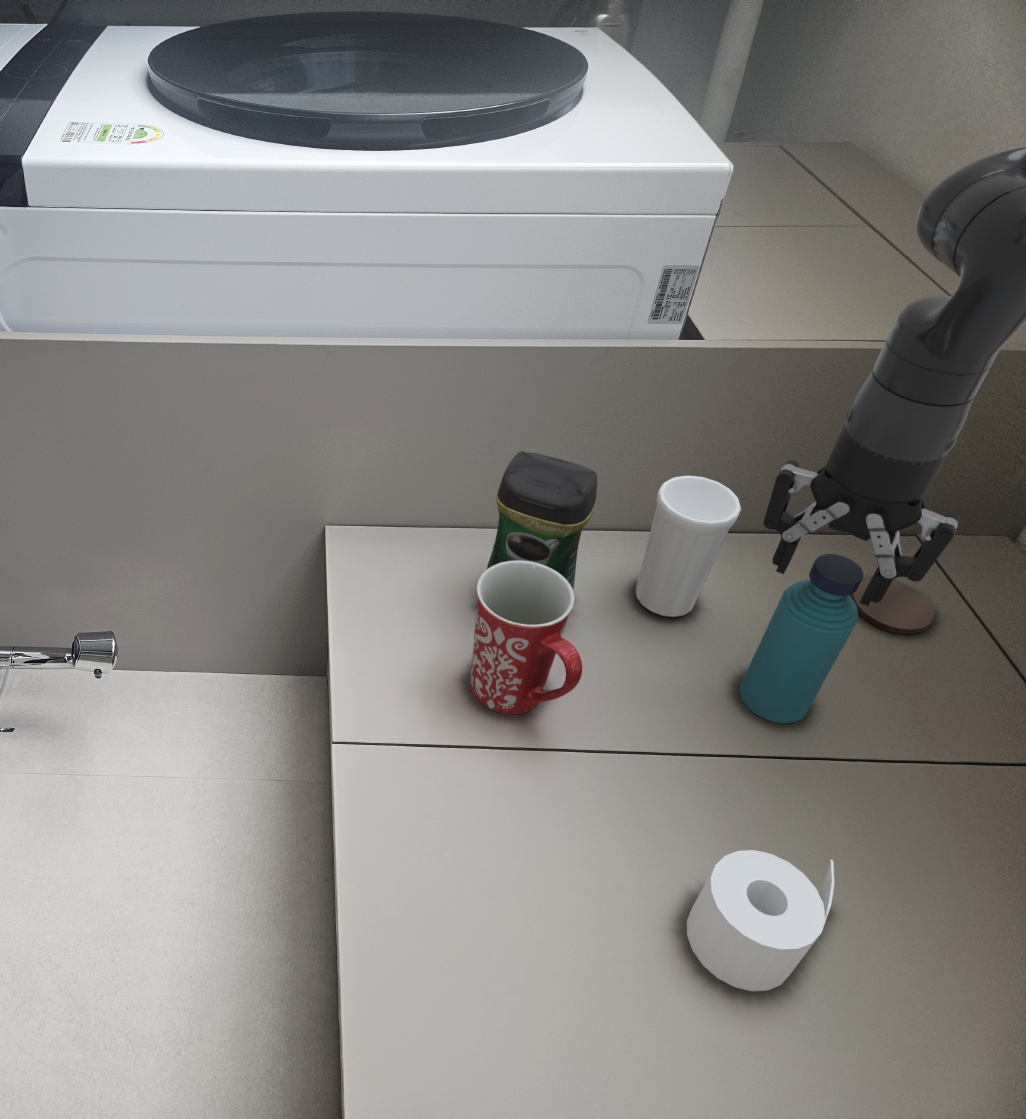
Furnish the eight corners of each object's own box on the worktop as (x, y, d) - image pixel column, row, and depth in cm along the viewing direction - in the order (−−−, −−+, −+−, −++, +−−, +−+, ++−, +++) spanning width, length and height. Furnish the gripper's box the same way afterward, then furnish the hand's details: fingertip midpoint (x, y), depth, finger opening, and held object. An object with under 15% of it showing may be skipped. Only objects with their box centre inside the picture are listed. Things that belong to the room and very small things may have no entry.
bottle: (816, 694, 98) (885, 568, 86) (795, 734, 94) (865, 608, 82) (751, 664, 101) (810, 539, 89) (729, 702, 97) (788, 576, 85)
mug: (442, 671, 100) (457, 576, 91) (515, 643, 103) (536, 548, 94) (515, 761, 92) (538, 667, 83) (591, 728, 95) (622, 633, 86)
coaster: (939, 603, 107) (942, 598, 106) (921, 645, 102) (924, 640, 102) (862, 573, 111) (864, 568, 110) (841, 612, 106) (844, 607, 106)
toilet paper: (824, 912, 80) (856, 868, 76) (768, 1013, 74) (799, 972, 70) (728, 852, 85) (753, 807, 80) (668, 943, 78) (691, 900, 74)
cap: (821, 560, 89) (827, 547, 88) (864, 581, 86) (871, 569, 85) (800, 580, 87) (806, 567, 86) (844, 603, 84) (851, 590, 83)
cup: (699, 633, 104) (740, 532, 94) (621, 613, 106) (654, 513, 97) (704, 585, 110) (743, 484, 100) (631, 567, 112) (662, 467, 102)
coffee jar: (577, 594, 109) (613, 460, 96) (555, 640, 104) (590, 504, 91) (494, 567, 112) (519, 434, 100) (470, 609, 107) (492, 475, 95)
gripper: (1009, 438, 76) (918, 592, 87) (816, 382, 82) (754, 531, 93) (994, 486, 71) (900, 642, 82) (790, 422, 78) (729, 574, 89)
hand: (823, 583), depth 88 cm, fingers open, 6 cm apart
